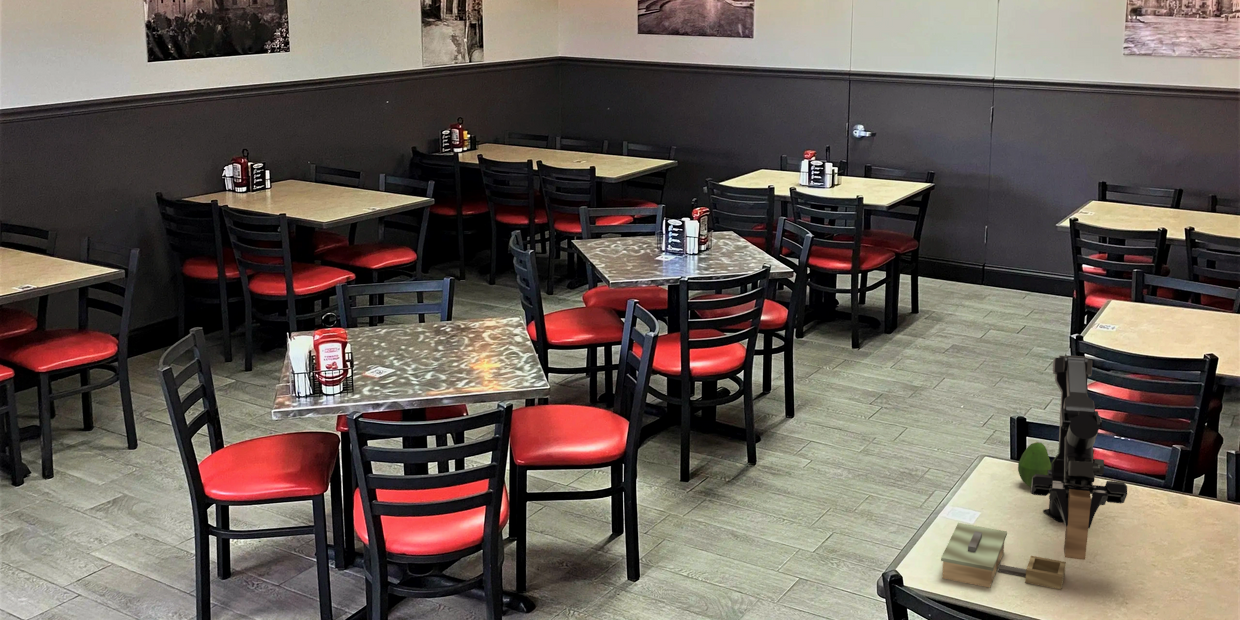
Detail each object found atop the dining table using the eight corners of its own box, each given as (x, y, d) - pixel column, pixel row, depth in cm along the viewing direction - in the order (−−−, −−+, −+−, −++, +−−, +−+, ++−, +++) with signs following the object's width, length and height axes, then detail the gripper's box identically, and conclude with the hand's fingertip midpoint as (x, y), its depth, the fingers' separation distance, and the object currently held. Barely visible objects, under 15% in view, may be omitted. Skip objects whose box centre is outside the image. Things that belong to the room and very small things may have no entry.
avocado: (1050, 482, 294) (1053, 439, 291) (1049, 494, 287) (1053, 450, 284) (1017, 478, 297) (1020, 435, 293) (1015, 490, 289) (1019, 446, 286)
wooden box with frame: (956, 542, 262) (958, 517, 261) (1067, 562, 252) (1070, 537, 250) (939, 578, 246) (941, 552, 245) (1057, 602, 236) (1059, 575, 234)
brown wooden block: (1063, 549, 245) (1069, 489, 241) (1083, 551, 244) (1089, 491, 240) (1065, 557, 241) (1070, 496, 237) (1085, 559, 240) (1091, 498, 236)
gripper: (1035, 439, 242) (1033, 508, 235) (1130, 447, 237) (1131, 518, 230) (1031, 459, 252) (1029, 526, 245) (1123, 467, 246) (1123, 536, 239)
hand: (1077, 526), depth 239 cm, fingers closed on brown wooden block, 4 cm apart
